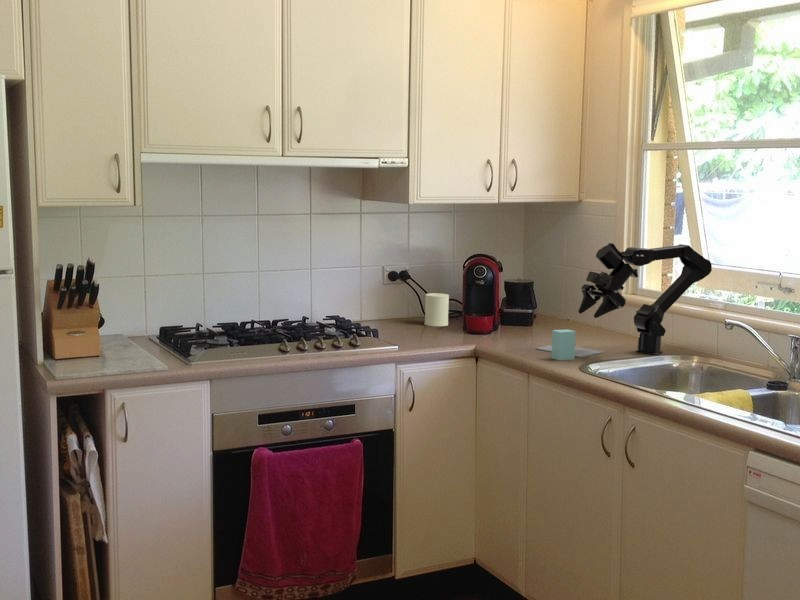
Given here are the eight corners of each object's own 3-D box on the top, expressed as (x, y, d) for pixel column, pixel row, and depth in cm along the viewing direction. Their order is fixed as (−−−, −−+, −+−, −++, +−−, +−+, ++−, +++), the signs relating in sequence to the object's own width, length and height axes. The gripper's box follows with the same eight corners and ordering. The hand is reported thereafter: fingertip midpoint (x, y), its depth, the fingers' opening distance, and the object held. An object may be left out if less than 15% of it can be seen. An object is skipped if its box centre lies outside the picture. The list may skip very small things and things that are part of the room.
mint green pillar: (574, 359, 288) (575, 331, 287) (558, 360, 286) (559, 332, 284) (567, 356, 292) (568, 329, 291) (551, 358, 289) (552, 330, 288)
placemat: (603, 353, 299) (603, 351, 299) (580, 357, 290) (580, 356, 290) (558, 344, 312) (558, 343, 312) (535, 349, 303) (535, 348, 303)
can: (451, 323, 352) (452, 292, 350) (444, 327, 343) (445, 295, 341) (428, 321, 355) (429, 291, 353) (421, 325, 346) (422, 294, 344)
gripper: (586, 259, 300) (556, 295, 298) (618, 265, 283) (587, 302, 281) (606, 281, 304) (577, 316, 302) (639, 288, 287) (608, 325, 285)
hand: (586, 315), depth 292 cm, fingers open, 9 cm apart
